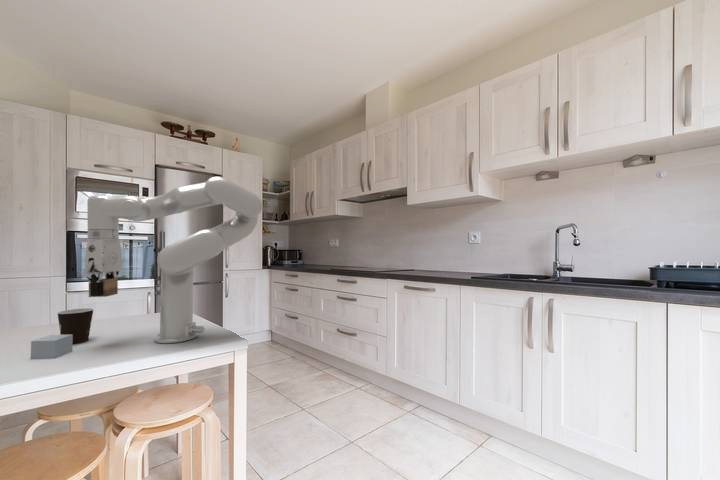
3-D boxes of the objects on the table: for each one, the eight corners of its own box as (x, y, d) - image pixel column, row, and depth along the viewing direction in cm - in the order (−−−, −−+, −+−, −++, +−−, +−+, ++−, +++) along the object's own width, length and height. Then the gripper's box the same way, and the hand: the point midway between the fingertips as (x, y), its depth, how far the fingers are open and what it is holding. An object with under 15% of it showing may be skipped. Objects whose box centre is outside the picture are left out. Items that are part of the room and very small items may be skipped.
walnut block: (117, 293, 100) (117, 278, 100) (106, 296, 95) (106, 280, 95) (100, 294, 99) (100, 278, 99) (88, 297, 94) (88, 280, 94)
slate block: (72, 351, 92) (72, 334, 92) (54, 358, 86) (55, 340, 86) (50, 352, 91) (50, 335, 91) (30, 359, 85) (31, 341, 86)
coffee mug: (85, 344, 98) (86, 312, 98) (50, 347, 95) (51, 314, 95) (100, 334, 109) (101, 305, 109) (69, 337, 106) (70, 307, 106)
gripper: (96, 235, 89) (96, 298, 89) (133, 236, 106) (133, 290, 106) (67, 235, 88) (67, 299, 88) (109, 236, 105) (110, 290, 105)
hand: (103, 293), depth 97 cm, fingers closed on walnut block, 5 cm apart
